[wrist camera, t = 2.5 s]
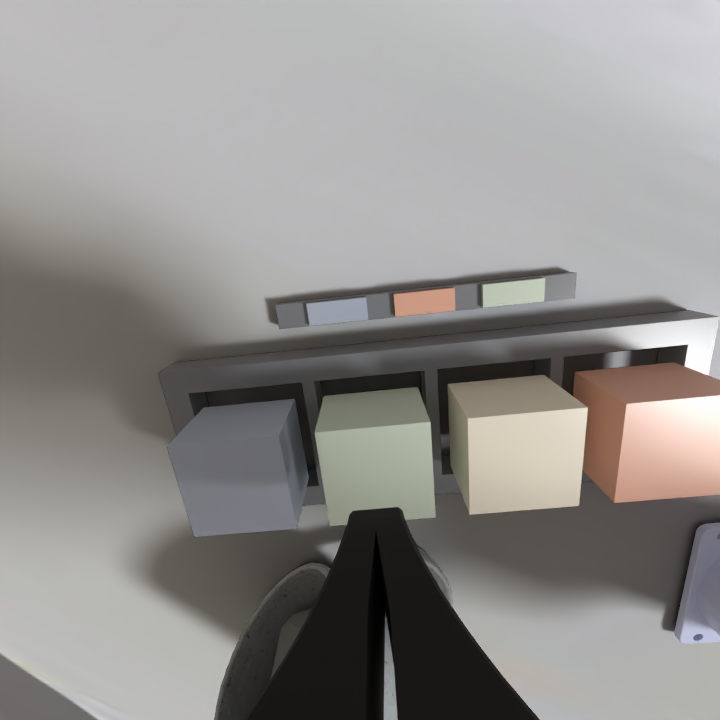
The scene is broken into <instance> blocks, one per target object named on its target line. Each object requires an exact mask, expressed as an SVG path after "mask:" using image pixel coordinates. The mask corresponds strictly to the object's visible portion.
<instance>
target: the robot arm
mask: <svg viewBox="0 0 720 720" xmlns="http://www.w3.org/2000/svg"><path fill="white" fill-rule="evenodd" d="M385 611H386V618H387V624H388V631H389V637H390V644H391V651H392V657H393V664H394V673H395V688H396V703H397V718H398V720H539V718H538V717H537V716H536V715H535V714H534V713H533V711H532V710H531V709H530V708H529V707H528V705H527V704H526V703H525V702H524V701H523V700H522V698H521V697H520V696H519V695H518V694H517V692H516V691H515V690H514V689H513V688H512V687H511V685H510V684H509V683H508V682H507V681H506V680H505V678H504V677H503V676H502V675H501V673H500V672H499V671H498V669H497V668H496V667H495V666H494V664H493V663H492V662H491V660H490V659H489V658H488V657H487V655H486V654H485V653H484V651H483V650H482V649H481V647H480V646H479V645H478V643H477V642H476V641H475V639H474V638H473V636H472V635H471V634H470V632H469V631H468V630H467V628H466V627H465V625H464V624H463V622H462V621H461V619H460V618H459V617H458V615H457V614H456V612H455V611H454V609H453V608H452V606H451V604H450V603H449V601H448V600H447V598H446V597H445V595H444V594H443V592H442V590H441V589H440V587H439V585H438V584H437V582H436V580H435V579H434V577H433V575H432V574H431V572H430V570H429V568H428V566H427V565H426V563H425V561H424V559H423V557H422V556H421V554H420V552H419V550H418V548H417V546H416V544H415V542H414V539H413V537H412V535H411V533H410V531H409V528H408V526H407V523H406V520H405V517H404V514H403V510H401V509H400V508H399V507H392V508H380V509H368V510H356V511H352V512H351V513H350V514H349V518H348V522H347V526H346V529H345V532H344V535H343V538H342V541H341V544H340V546H339V549H338V552H337V554H336V557H335V559H334V561H333V564H332V566H331V568H330V571H329V573H328V575H327V578H326V580H325V582H324V584H323V587H322V589H321V591H320V593H319V595H318V597H317V599H316V601H315V603H314V605H313V607H312V609H311V611H310V613H309V615H308V617H307V619H306V620H305V622H304V624H303V626H302V628H301V630H300V631H299V633H298V635H297V637H296V639H295V640H294V642H293V644H292V645H291V647H290V649H289V651H288V652H287V654H286V656H285V657H284V659H283V661H282V662H281V664H280V665H279V667H278V669H277V670H276V672H275V673H274V675H273V676H272V678H271V679H270V681H269V683H268V684H267V686H266V687H265V689H264V690H263V692H262V694H261V695H260V697H259V698H258V700H257V701H256V702H255V704H254V705H253V707H252V708H251V710H250V711H249V713H248V714H247V716H246V717H245V719H244V720H384V666H385ZM674 634H675V636H676V637H677V638H678V640H679V641H680V642H681V643H684V644H692V643H708V642H720V523H707V524H703V525H701V526H700V527H698V528H697V530H696V534H695V539H694V543H693V548H692V553H691V557H690V562H689V566H688V571H687V576H686V580H685V585H684V590H683V594H682V599H681V604H680V608H679V613H678V618H677V622H676V627H675V632H674Z"/></svg>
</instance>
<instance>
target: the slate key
mask: <svg viewBox="0 0 720 720" xmlns="http://www.w3.org/2000/svg"><path fill="white" fill-rule="evenodd" d="M167 449H168V453H169V456H170V459H171V462H172V466H173V469H174V472H175V475H176V479H177V482H178V485H179V488H180V492H181V495H182V498H183V501H184V505H185V508H186V511H187V514H188V518H189V521H190V524H191V527H192V531H193V534H194V537H201V536H214V535H226V534H238V533H251V532H263V531H275V530H288V529H297V527H298V522H299V518H300V514H301V509H302V505H303V501H304V496H305V492H306V488H307V483H308V479H309V476H308V470H307V465H306V459H305V453H304V448H303V442H302V437H301V431H300V425H299V420H298V414H297V408H296V403H295V399H287V400H276V401H266V402H256V403H245V404H235V405H225V406H214V407H204V408H203V409H202V410H201V411H200V412H199V413H198V414H197V415H196V416H195V417H194V418H193V419H192V420H191V421H190V422H189V423H188V424H187V425H186V427H185V428H184V429H183V430H182V431H181V432H180V433H179V434H178V435H177V436H176V437H175V438H174V439H173V440H172V441H171V442H170V443H169V444H168V445H167Z"/></svg>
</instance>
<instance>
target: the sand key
mask: <svg viewBox="0 0 720 720" xmlns="http://www.w3.org/2000/svg"><path fill="white" fill-rule="evenodd" d="M448 409H449V435H450V462H451V468H452V470H453V473H454V475H455V478H456V481H457V483H458V486H459V488H460V491H461V494H462V496H463V499H464V501H465V504H466V506H467V509H468V512H469V514H470V515H473V514H485V513H498V512H510V511H522V510H535V509H547V508H559V507H572V506H579V501H580V490H581V479H582V468H583V457H584V446H585V435H586V424H587V413H588V407H587V406H585V405H584V404H583V403H581V402H580V401H579V400H577V399H576V398H575V397H573V396H572V395H571V394H569V393H568V392H566V391H565V390H564V389H562V388H561V387H560V386H558V385H557V384H556V383H554V382H553V381H552V380H550V379H549V378H548V377H546V376H545V375H536V376H526V377H515V378H505V379H495V380H484V381H474V382H463V383H453V384H448Z"/></svg>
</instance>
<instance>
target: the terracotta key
mask: <svg viewBox="0 0 720 720" xmlns="http://www.w3.org/2000/svg"><path fill="white" fill-rule="evenodd" d="M573 397H575V398H576V399H577V400H579V401H580V402H581V403H583V404H584V405H585V406H587V407H588V413H587V424H586V435H585V446H584V457H583V468H582V470H583V471H584V472H585V473H586V474H587V475H588V476H589V477H590V478H591V479H592V480H593V481H594V482H595V484H596V485H597V486H598V487H599V488H600V489H601V490H602V491H603V492H604V493H605V494H606V495H607V496H608V497H609V498H610V499H611V500H612V501H613V502H614V503H621V502H633V501H646V500H658V499H670V498H683V497H695V496H707V495H720V380H718V379H716V378H713V377H711V376H708V375H705V374H703V373H700V372H698V371H695V370H693V369H690V368H688V367H685V366H682V365H680V364H677V363H675V362H671V363H661V364H650V365H640V366H630V367H619V368H609V369H599V370H588V371H578V372H575V376H574V389H573Z"/></svg>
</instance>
